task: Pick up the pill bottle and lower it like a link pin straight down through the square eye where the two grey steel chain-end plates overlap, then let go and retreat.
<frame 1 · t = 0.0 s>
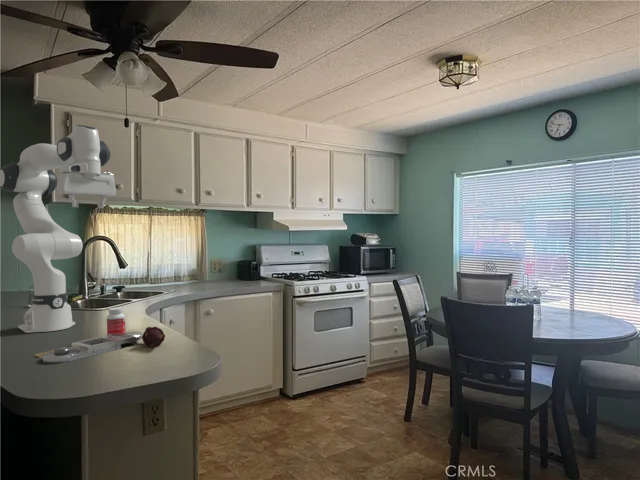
hand: (88, 207, 165), 48 cm above the countertop, fingers open, 8 cm apart
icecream: (153, 347, 152), on the countertop
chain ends: (96, 350, 148), on the countertop
pill bottle: (116, 339, 164), on the countertop
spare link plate: (51, 355, 145), on the countertop
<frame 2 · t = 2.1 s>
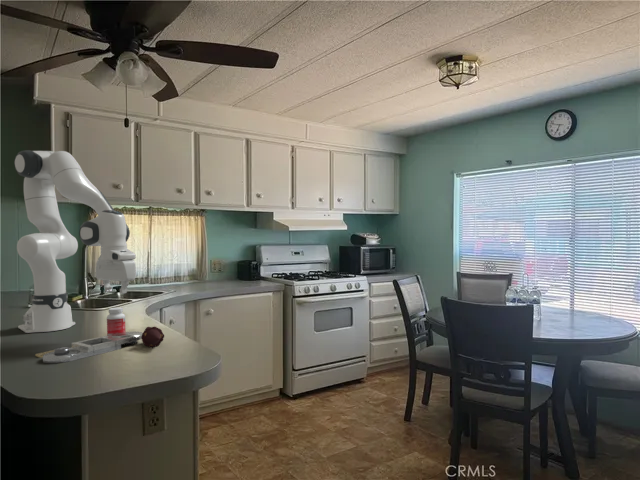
hand: (115, 292, 164), 17 cm above the countertop, fingers open, 8 cm apart
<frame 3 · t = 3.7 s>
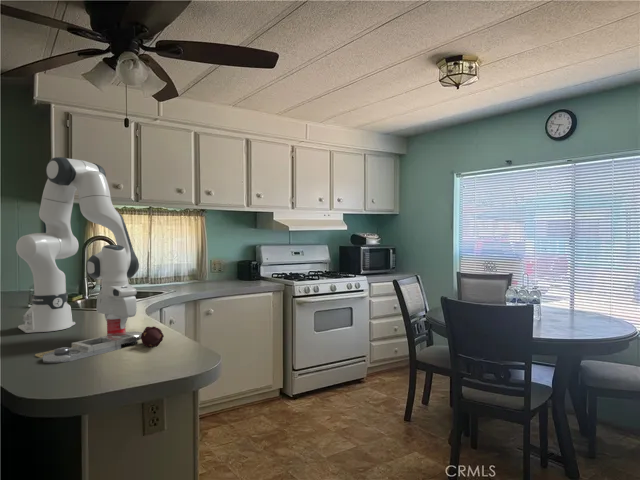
hand: (116, 327, 164), 4 cm above the countertop, fingers closed on pill bottle, 6 cm apart
pill bottle: (116, 339, 164), on the countertop, touching gripper
everything else where it was.
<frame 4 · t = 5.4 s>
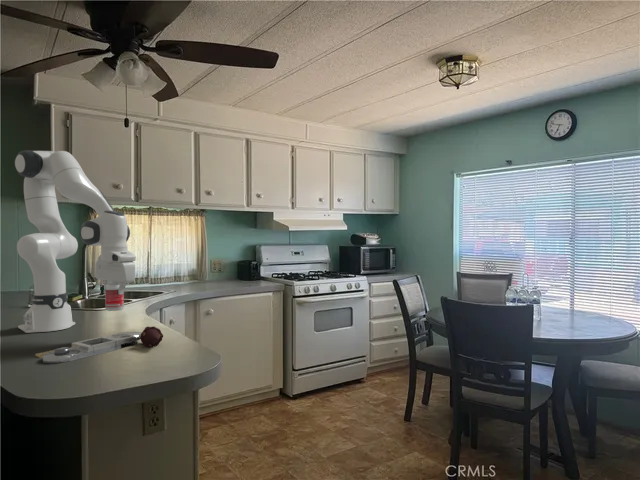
hand: (114, 293, 164), 17 cm above the countertop, fingers closed on pill bottle, 6 cm apart
pill bottle: (114, 310, 164), point 10 cm above the countertop, touching gripper
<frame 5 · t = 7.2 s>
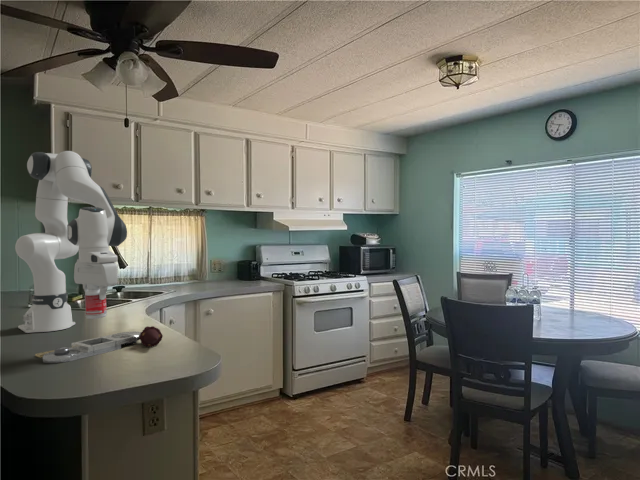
hand: (95, 298, 148), 17 cm above the countertop, fingers closed on pill bottle, 6 cm apart
pill bottle: (96, 317, 148), point 11 cm above the countertop, touching gripper
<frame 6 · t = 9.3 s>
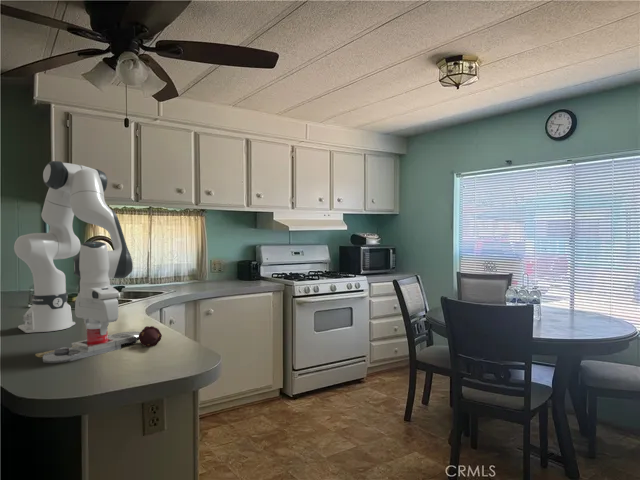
hand: (96, 333, 148), 6 cm above the countertop, fingers closed on pill bottle, 6 cm apart
pill bottle: (97, 350, 148), resting in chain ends, touching gripper
when the fingers open (6 cm above the countertop, at t = 10.0 s): pill bottle stays where it is, resting in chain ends.
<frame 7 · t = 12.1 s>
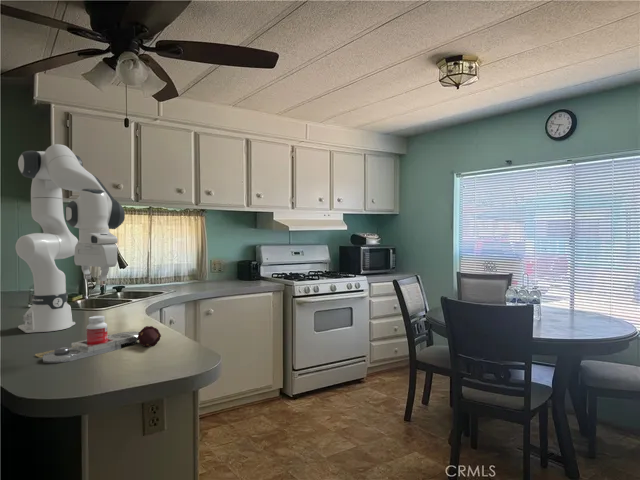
hand: (95, 280, 148), 23 cm above the countertop, fingers open, 8 cm apart
pill bottle: (97, 350, 148), resting in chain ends
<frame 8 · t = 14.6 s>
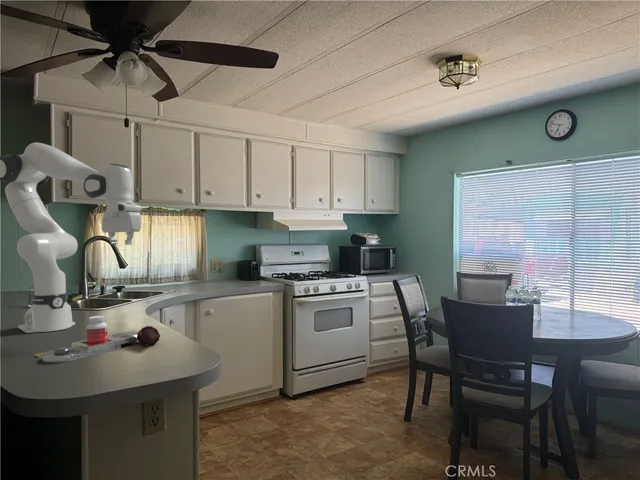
hand: (121, 244, 168), 34 cm above the countertop, fingers open, 8 cm apart
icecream: (148, 346, 153), on the countertop, touching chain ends
everything else where it was.
at the end: pill bottle 0.3 cm off-centre on the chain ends, point 0.0 cm above the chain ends's base; pill bottle tilted 0°; the gripper is holding nothing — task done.
